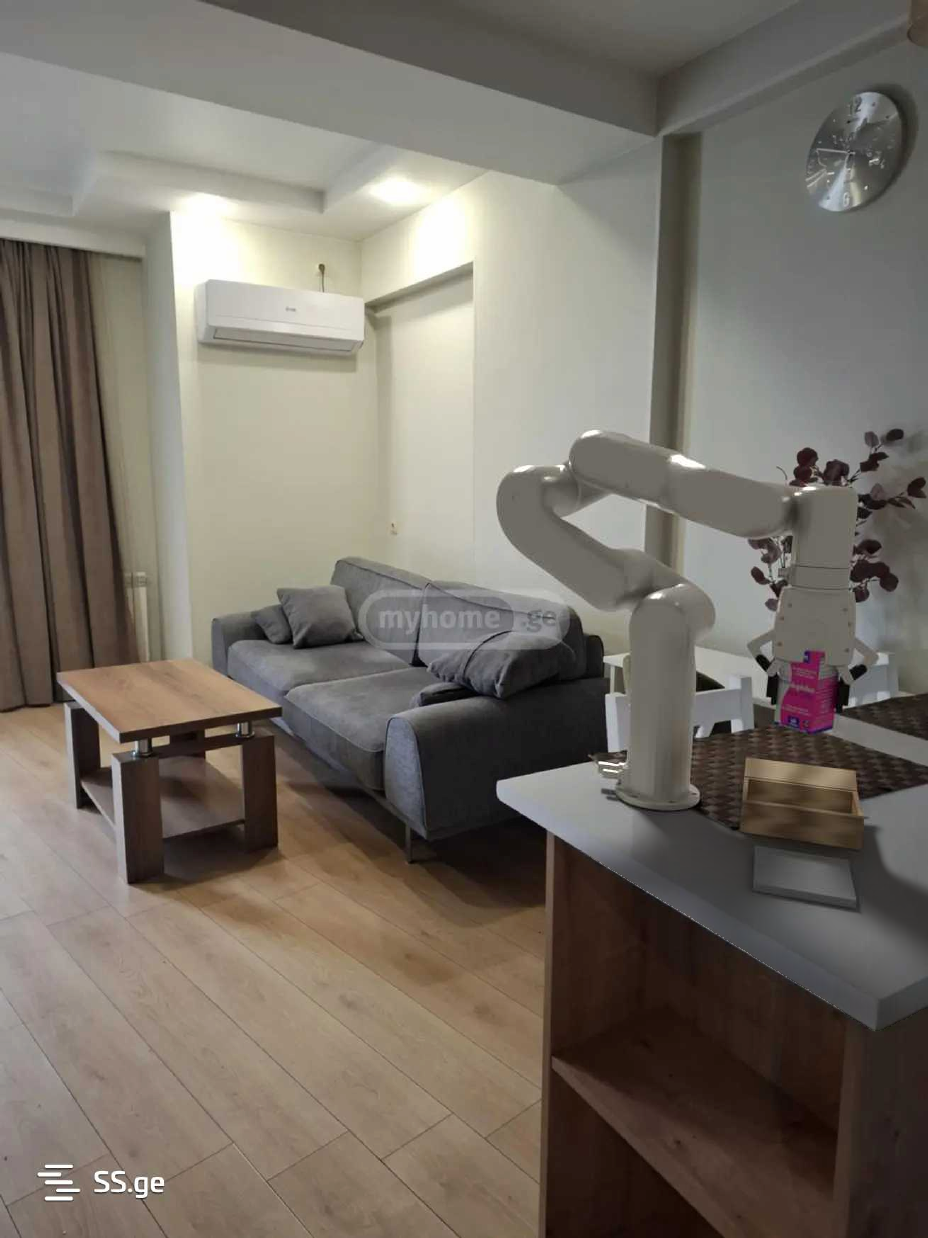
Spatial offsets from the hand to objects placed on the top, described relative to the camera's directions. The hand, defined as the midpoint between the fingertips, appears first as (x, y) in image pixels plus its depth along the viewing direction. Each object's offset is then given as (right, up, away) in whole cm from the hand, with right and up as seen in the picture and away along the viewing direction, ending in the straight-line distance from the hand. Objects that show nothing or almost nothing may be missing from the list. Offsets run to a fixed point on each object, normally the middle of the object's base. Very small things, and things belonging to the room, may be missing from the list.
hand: (805, 706), depth 114 cm
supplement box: (0, -3, +1) cm, 3 cm away
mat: (-6, -20, -13) cm, 24 cm away
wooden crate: (0, -17, +3) cm, 17 cm away
